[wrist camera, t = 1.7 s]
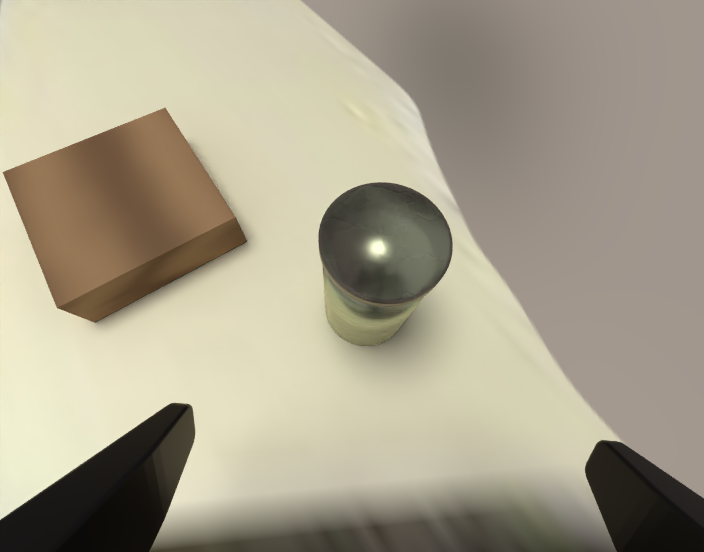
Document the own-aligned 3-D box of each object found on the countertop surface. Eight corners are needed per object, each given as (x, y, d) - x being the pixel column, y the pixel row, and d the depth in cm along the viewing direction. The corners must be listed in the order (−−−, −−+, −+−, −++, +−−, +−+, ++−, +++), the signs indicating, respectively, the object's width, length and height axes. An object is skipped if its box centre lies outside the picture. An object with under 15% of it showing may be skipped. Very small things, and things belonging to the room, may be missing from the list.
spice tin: (354, 364, 20) (370, 330, 12) (308, 294, 22) (292, 220, 13) (422, 317, 21) (480, 256, 13) (374, 254, 23) (398, 163, 15)
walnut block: (94, 322, 20) (56, 307, 17) (42, 201, 23) (3, 172, 20) (247, 241, 23) (235, 217, 20) (183, 140, 26) (165, 107, 23)
